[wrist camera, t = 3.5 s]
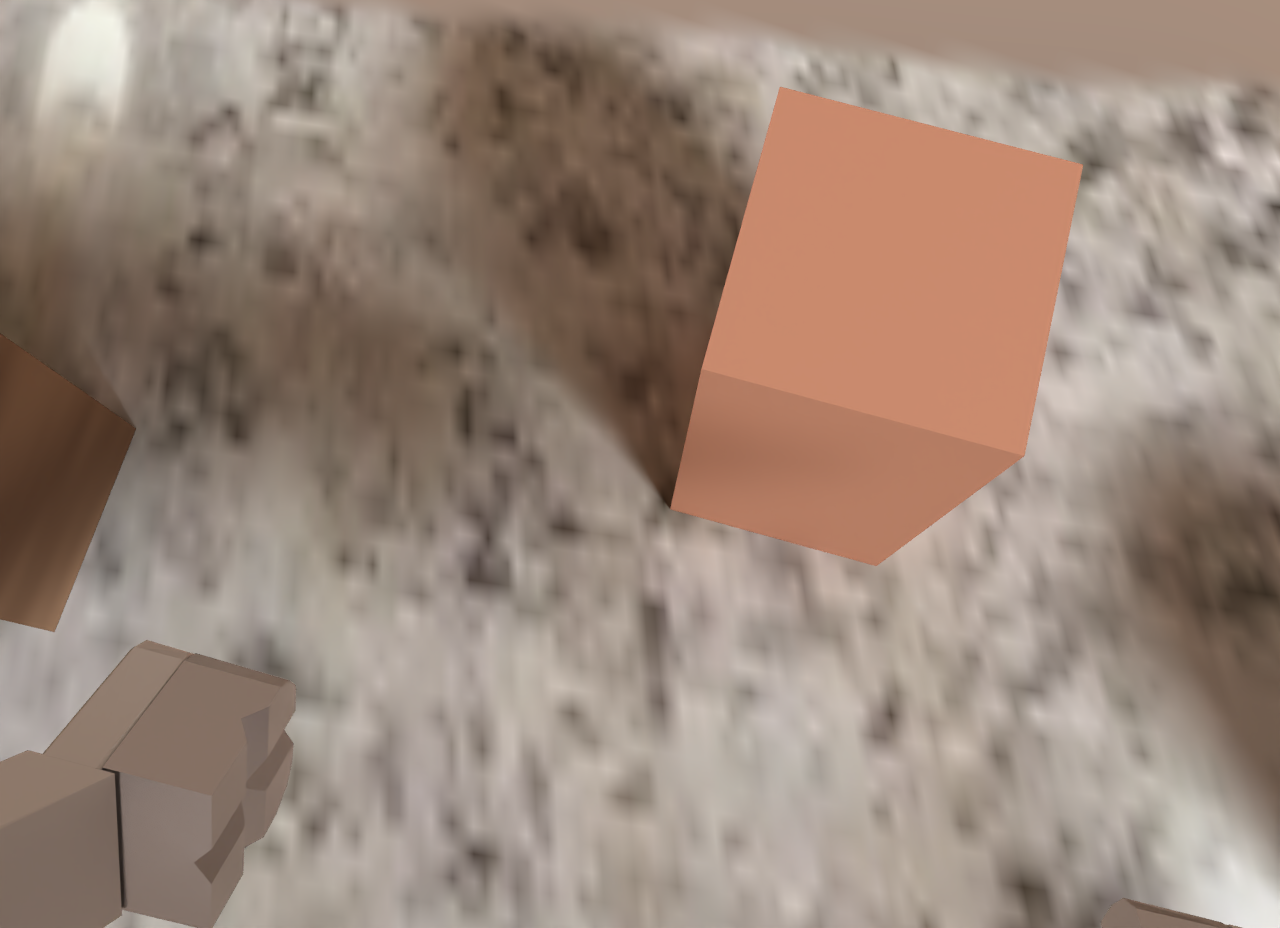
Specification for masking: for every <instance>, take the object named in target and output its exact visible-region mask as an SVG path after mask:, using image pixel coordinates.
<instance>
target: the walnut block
mask: <svg viewBox="0 0 1280 928" xmlns="http://www.w3.org/2000/svg"><path fill="white" fill-rule="evenodd" d="M135 430H136V428H135V427H133V426H132V425H130V424H129V423H128V422H126V421H125V420H123V419H122V418H120V417H119V416H118V415H116V414H115V413H113V412H112V411H110V410H109V409H108V408H106V407H105V406H103V405H102V404H100V403H99V402H98V401H96V400H95V399H93V398H92V397H90V396H89V395H88V394H86V393H85V392H83V391H82V390H80V389H79V388H78V387H76V386H75V385H73V384H72V383H70V382H69V381H68V380H66V379H65V378H63V377H62V376H60V375H59V374H58V373H56V372H55V371H53V370H52V369H50V368H49V367H48V366H46V365H45V364H43V363H42V362H40V361H39V360H38V359H36V358H35V357H33V356H32V355H30V354H29V353H27V352H26V351H25V350H23V349H22V348H20V347H19V346H17V345H16V344H15V343H13V342H12V341H10V340H9V339H7V338H6V337H5V336H3V335H2V334H0V619H1V620H5V621H10V622H14V623H18V624H23V625H27V626H31V627H35V628H40V629H44V630H48V631H53V632H55V629H56V627H57V624H58V622H59V619H60V617H61V614H62V612H63V609H64V607H65V604H66V602H67V599H68V597H69V594H70V592H71V590H72V587H73V585H74V582H75V580H76V577H77V575H78V572H79V570H80V567H81V565H82V562H83V560H84V557H85V555H86V552H87V550H88V547H89V545H90V542H91V540H92V537H93V535H94V532H95V530H96V527H97V525H98V522H99V520H100V517H101V515H102V512H103V510H104V507H105V505H106V502H107V500H108V497H109V495H110V492H111V490H112V487H113V485H114V482H115V480H116V478H117V475H118V473H119V470H120V468H121V465H122V463H123V460H124V458H125V455H126V453H127V450H128V448H129V445H130V443H131V440H132V438H133V435H134V433H135Z"/></svg>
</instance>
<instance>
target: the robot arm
mask: <svg viewBox="0 0 1280 928" xmlns="http://www.w3.org/2000/svg"><path fill="white" fill-rule="evenodd" d="M295 710H296V685H295V684H294V683H293V682H291V681H290V680H287V679H283V678H280V677H276V676H273V675H269V674H266V673H262V672H259V671H256V670H252V669H249V668H245V667H242V666H238V665H235V664H231V663H228V662H224V661H221V660H217V659H214V658H211V657H207V656H204V655H200V654H197V653H195V654H193V653H190V652H186V651H183V650H179V649H176V648H172V647H169V646H165V645H162V644H159V643H155V642H152V641H148V640H146V641H144V642H142V643H141V644H139V645H137V646H135V647H134V648H132V649H131V650H130V651H129V652H128V653H127V655H126V656H125V657H124V658H123V659H122V660H121V662H120V663H119V664H118V665H117V666H116V668H115V669H114V670H113V671H112V672H111V674H110V675H109V676H108V677H107V678H106V679H105V681H104V682H103V683H102V684H101V685H100V687H99V688H98V689H97V690H96V691H95V692H94V694H93V695H92V696H91V697H90V698H89V700H88V701H87V702H86V703H85V704H84V705H83V707H82V708H81V709H80V710H79V711H78V713H77V714H76V715H75V716H74V717H73V718H72V720H71V721H70V722H69V723H68V724H67V726H66V727H65V728H64V729H63V730H62V732H61V733H60V734H59V735H58V736H57V737H56V739H55V740H54V741H53V742H52V743H51V745H50V746H49V747H48V748H47V749H46V750H45V752H44V753H43V754H41V753H37V752H33V751H28V750H27V751H25V752H22V753H20V754H18V755H15V756H13V757H11V758H8V759H6V760H4V761H1V762H0V928H104V927H105V926H107V925H108V924H110V923H111V922H113V921H114V920H116V919H117V918H119V917H120V916H121V915H122V910H126V911H130V912H134V913H138V914H142V915H146V916H151V917H155V918H159V919H163V920H167V921H172V922H176V923H180V924H184V925H188V926H192V927H197V928H213V926H214V924H215V923H216V921H217V919H218V917H219V915H220V914H221V912H222V910H223V908H224V907H225V905H226V903H227V901H228V900H229V898H230V896H231V894H232V893H233V891H234V889H235V887H236V886H237V884H238V882H239V880H240V879H241V877H242V875H243V866H244V848H245V847H247V846H248V845H250V844H252V843H254V842H256V841H258V840H259V839H261V838H263V837H264V836H265V834H266V832H267V830H268V828H269V827H270V825H271V823H272V821H273V819H274V817H275V815H276V814H277V811H278V808H279V806H280V803H281V800H282V798H283V795H284V792H285V790H286V787H287V784H288V780H289V775H290V770H291V766H292V759H293V745H294V743H293V742H292V740H291V739H290V738H289V736H288V735H287V733H286V732H285V730H284V729H285V727H286V726H287V724H288V722H289V721H290V719H291V717H292V716H293V714H294V712H295ZM1101 926H1102V928H1241V927H1238V926H1234V925H1225V924H1223V923H1221V922H1218V921H1214V920H1210V919H1206V918H1202V917H1198V916H1194V915H1190V914H1186V913H1182V912H1178V911H1174V910H1170V909H1166V908H1162V907H1158V906H1154V905H1150V904H1146V903H1142V902H1138V901H1134V900H1130V899H1126V898H1122V899H1120V900H1119V901H1117V902H1116V903H1114V904H1112V905H1111V907H1110V908H1109V910H1108V911H1107V913H1106V914H1105V916H1104V917H1103V919H1102V921H1101Z"/></svg>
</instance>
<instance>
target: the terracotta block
mask: <svg viewBox="0 0 1280 928" xmlns="http://www.w3.org/2000/svg"><path fill="white" fill-rule="evenodd" d="M1082 167H1083V165H1082V164H1079V163H1075V162H1071V161H1067V160H1063V159H1059V158H1055V157H1051V156H1047V155H1044V154H1040V153H1036V152H1032V151H1028V150H1024V149H1020V148H1016V147H1012V146H1009V145H1005V144H1001V143H997V142H993V141H989V140H985V139H981V138H977V137H974V136H970V135H966V134H962V133H958V132H954V131H950V130H946V129H942V128H939V127H935V126H931V125H927V124H923V123H919V122H915V121H911V120H907V119H904V118H900V117H896V116H892V115H888V114H884V113H880V112H876V111H872V110H869V109H865V108H861V107H857V106H853V105H849V104H845V103H841V102H837V101H834V100H830V99H826V98H822V97H818V96H814V95H810V94H806V93H802V92H799V91H795V90H791V89H787V88H783V87H780V88H779V92H778V96H777V99H776V103H775V106H774V110H773V114H772V117H771V121H770V124H769V128H768V132H767V135H766V139H765V142H764V146H763V150H762V153H761V157H760V160H759V164H758V168H757V171H756V175H755V178H754V182H753V185H752V189H751V193H750V196H749V200H748V203H747V207H746V211H745V214H744V218H743V221H742V225H741V229H740V232H739V236H738V239H737V243H736V247H735V250H734V254H733V257H732V261H731V265H730V268H729V272H728V275H727V279H726V282H725V286H724V290H723V293H722V297H721V300H720V304H719V308H718V311H717V315H716V318H715V322H714V326H713V329H712V333H711V336H710V340H709V344H708V347H707V351H706V354H705V358H704V361H703V365H702V369H701V373H700V378H699V382H698V387H697V391H696V396H695V400H694V405H693V409H692V414H691V418H690V423H689V427H688V432H687V436H686V441H685V445H684V450H683V454H682V459H681V463H680V467H679V472H678V476H677V481H676V485H675V490H674V494H673V499H672V503H671V508H670V509H671V510H675V511H678V512H682V513H686V514H689V515H693V516H697V517H700V518H704V519H707V520H711V521H715V522H718V523H722V524H726V525H729V526H733V527H736V528H740V529H744V530H747V531H751V532H755V533H758V534H762V535H766V536H769V537H773V538H776V539H780V540H784V541H787V542H791V543H795V544H798V545H802V546H805V547H809V548H813V549H816V550H820V551H824V552H827V553H831V554H835V555H838V556H842V557H845V558H849V559H853V560H856V561H860V562H864V563H867V564H871V565H874V566H877V565H878V564H880V563H881V562H882V561H884V560H885V559H886V558H888V557H889V556H890V555H892V554H893V553H895V552H896V551H897V550H899V549H900V548H901V547H903V546H904V545H905V544H907V543H908V542H909V541H911V540H912V539H913V538H915V537H916V536H917V535H919V534H920V533H921V532H923V531H924V530H925V529H927V528H928V527H929V526H931V525H932V524H934V523H935V522H936V521H938V520H939V519H940V518H942V517H943V516H944V515H946V514H947V513H948V512H950V511H951V510H952V509H954V508H955V507H956V506H958V505H959V504H960V503H962V502H963V501H964V500H966V499H967V498H968V497H970V496H971V495H973V494H974V493H975V492H977V491H978V490H979V489H981V488H982V487H983V486H985V485H986V484H987V483H989V482H990V481H991V480H993V479H994V478H995V477H997V476H998V475H999V474H1001V473H1002V472H1003V471H1005V470H1006V469H1007V468H1009V467H1010V466H1012V465H1013V464H1014V463H1016V462H1017V461H1018V460H1020V459H1021V458H1022V457H1024V455H1025V450H1026V445H1027V440H1028V435H1029V430H1030V425H1031V420H1032V415H1033V411H1034V406H1035V401H1036V396H1037V391H1038V386H1039V381H1040V376H1041V371H1042V366H1043V361H1044V356H1045V351H1046V346H1047V341H1048V336H1049V331H1050V326H1051V321H1052V316H1053V311H1054V306H1055V301H1056V296H1057V291H1058V287H1059V282H1060V277H1061V272H1062V267H1063V262H1064V257H1065V252H1066V247H1067V242H1068V237H1069V232H1070V227H1071V222H1072V217H1073V212H1074V207H1075V202H1076V197H1077V192H1078V187H1079V182H1080V177H1081V172H1082Z"/></svg>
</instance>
